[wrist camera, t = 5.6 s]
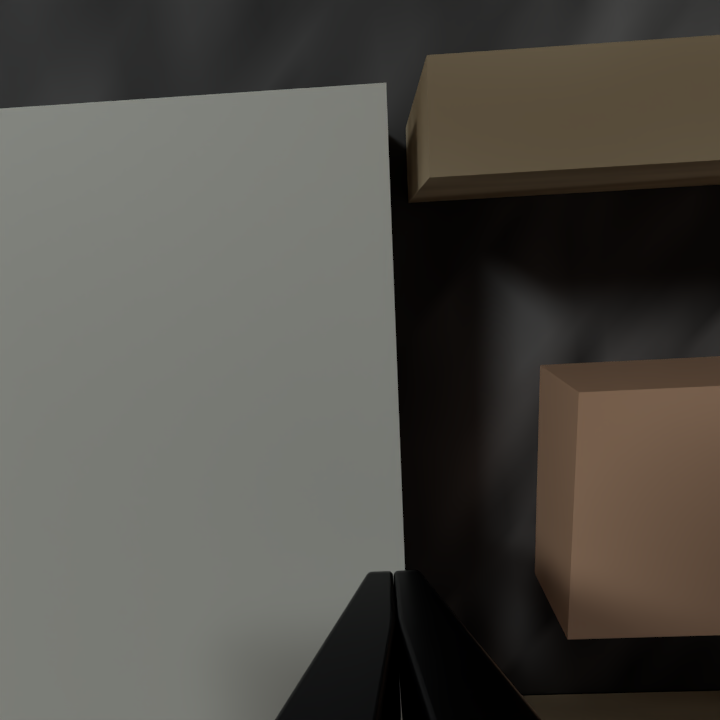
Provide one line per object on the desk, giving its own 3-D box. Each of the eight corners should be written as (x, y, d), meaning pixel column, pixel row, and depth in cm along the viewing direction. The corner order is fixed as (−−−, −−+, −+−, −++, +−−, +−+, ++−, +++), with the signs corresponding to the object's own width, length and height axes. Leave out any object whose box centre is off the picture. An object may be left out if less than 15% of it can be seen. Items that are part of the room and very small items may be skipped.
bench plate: (407, 742, 14) (416, 874, 11) (59, 749, 14) (-22, 880, 11) (381, 129, 10) (386, 83, 7) (-82, 158, 11) (-253, 126, 8)
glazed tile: (567, 639, 11) (530, 565, 13) (833, 631, 10) (745, 558, 13) (578, 392, 9) (535, 362, 12) (881, 378, 9) (773, 350, 12)
